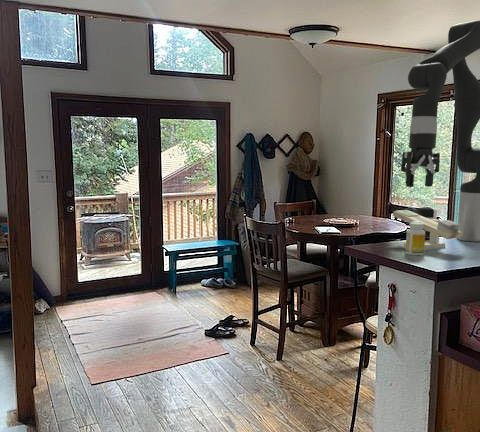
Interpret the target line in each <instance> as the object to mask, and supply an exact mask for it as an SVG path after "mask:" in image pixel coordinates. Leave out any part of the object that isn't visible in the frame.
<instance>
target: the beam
mask: <svg viewBox="0 0 480 432" xmlns="http://www.w3.org/2000/svg"><path fill="white" fill-rule="evenodd" d="M392 217H394V218H397V219H399V220H402V221H403V222H405V223H406V222H407V223H409V224H410V223H412V221H418V222H421V223H423V224H424V227H423V229H425V230H427V231H429V232H432V233H434V234H436V235H439V237H440V238H444V239H446V240H450V239H457V238H459V237H461V236H462V233H463V232H460V231H458V229H459V225H460V224H458V222H455V221H452V220H450V219H447V220H440V221H439V222H435V221H433V220H430V219H428V218H425V217H423V216H420V215H418V213H416V212H413V211H410V210H408V209H401V210H398V209H397V210H395V211H393V212H392Z"/></svg>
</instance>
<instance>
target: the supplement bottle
mask: <svg viewBox="0 0 480 432" xmlns="http://www.w3.org/2000/svg"><path fill="white" fill-rule="evenodd" d="M423 227H424V224H423V223H417V222H412V223H409V229H407V230H406V237H405V238H406V239H405V243H406V248H405V254H407V255H409V254H410V255H409V256H417V255H420V256H423V255H424V254H425V250H424V244H425V231H424V230H422V229H423Z"/></svg>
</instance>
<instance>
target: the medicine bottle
mask: <svg viewBox="0 0 480 432" xmlns="http://www.w3.org/2000/svg"><path fill="white" fill-rule="evenodd" d="M417 214H418V215H420V216H423V217H425V218H428V219H430V220H431V219H436V220H437V218H438V217H437V215H438V209H437V208H436V207H431V206H430V207H429V206H428V207H427V206H421V207H420V208H419V209H418V213H417ZM422 230H424V231H425V241H427V240H430V232H429V231H427V230H425V229H422Z"/></svg>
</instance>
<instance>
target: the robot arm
mask: <svg viewBox="0 0 480 432" xmlns="http://www.w3.org/2000/svg"><path fill="white" fill-rule="evenodd" d="M447 43H448V44H446V45H444V46H443V47H441V48H439V49H438V50H437V51H436V52H434V53H433V54H432V55H431V56H430V57H427V58H426V59H424V60H421V61H419V62H418V63H416V64H414V66H412V68H411V69H410V70H409V73H408V75H407V82H408V84H409V86H410V87H411V88H413V89H414V90H425V89H428V90H427V91H426V92H425V94H423V95H421V96H418V97H416V98H414V99H413V101H412V110H411V121H410V127H409V128H410V129H409V141H408V148H409V149H411V150H410V151H409V150H408V151H402V155H401V156H402V157H401V165H400V172H401V173H402V172H403V173H405V186H406V187H407V188H413V187H414V186H415V185H414V184H415V172H416V170H417V169H419V168H420V167H421V168H423V170H424V171H425V181H424V186H425V187H429V188H431V187H433V184H434V177H435V176H434V175H436V173H439V172H440V163H441V162H440V160H441V159H440V158H441V156H440V155H441V153H440V152H433V149H436V146H437V133H438V107H439V101H440V98H441V95H442V92H443V90H444V87H445V84H446V81H447V75H448V73H449V72H450V71H451V70H452V77H453V91H454V92H453V93H454V108H455V118H456V131H457V132H456V135H457V137H456V147H457V148H456V163H457V168H458V170H459V171H460V172H461V173H465V174H475V177H474V179H471V180H470V181H467V182H463V183H461V184H460V190H459V200H458V201H459V202H458V214H457V215H458V216H457V223H458V224H460V225H459V229H458V231H460V232H463V233H462V236H461V237H459V238H456V239H457V240H458V241H460V240H461V241H465V242H480V146H472V136H473V133H474V131H475V128H476V126H477V124H478V123H479V122H480V81H479V80H478V78H477V77H476V75H474V73H473V72H472V71H471V69H470V67H469V66H468V64H467V60H466V57H468V56H470V55H472V54H473V53H475V52H477V51H479V50H480V20H478V19H477V20H476V19H475V20H471V21H466V22H460V23H457V24H453V25H452V26H451V27H449V30H448V33H447Z"/></svg>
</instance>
